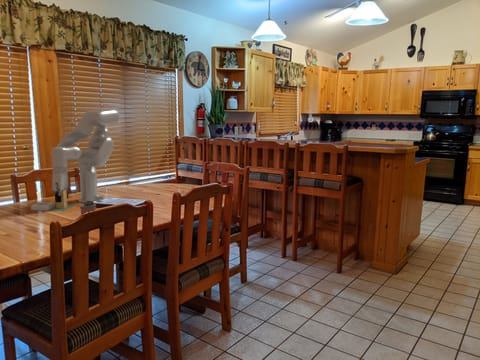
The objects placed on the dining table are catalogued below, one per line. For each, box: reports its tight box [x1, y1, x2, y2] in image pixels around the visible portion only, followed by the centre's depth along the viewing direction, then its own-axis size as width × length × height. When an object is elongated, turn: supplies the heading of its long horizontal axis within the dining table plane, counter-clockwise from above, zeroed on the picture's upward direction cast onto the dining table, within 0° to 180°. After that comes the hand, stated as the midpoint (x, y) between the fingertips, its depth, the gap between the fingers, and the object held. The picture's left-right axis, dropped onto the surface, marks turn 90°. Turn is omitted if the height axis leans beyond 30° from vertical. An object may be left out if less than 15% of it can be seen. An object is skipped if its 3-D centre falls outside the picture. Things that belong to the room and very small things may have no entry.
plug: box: [55, 189, 68, 208], centre depth 209 cm, size 5×4×10 cm
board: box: [30, 201, 75, 212], centre depth 209 cm, size 18×14×4 cm
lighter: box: [79, 200, 97, 215], centre depth 190 cm, size 8×3×10 cm, turn 141°
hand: (61, 200), depth 210 cm, fingers open, 8 cm apart
